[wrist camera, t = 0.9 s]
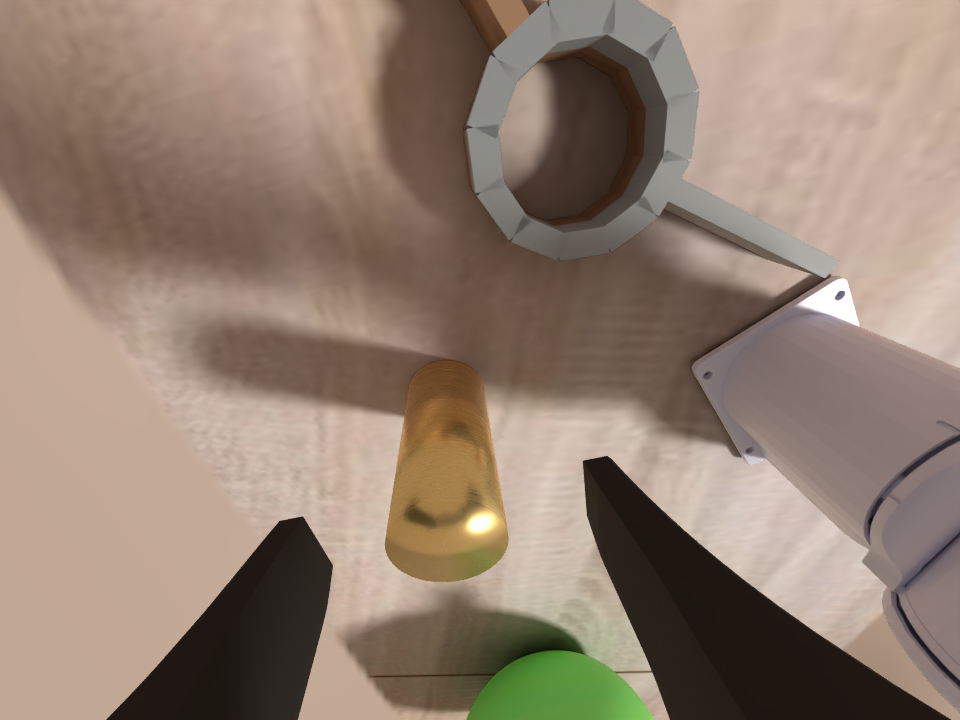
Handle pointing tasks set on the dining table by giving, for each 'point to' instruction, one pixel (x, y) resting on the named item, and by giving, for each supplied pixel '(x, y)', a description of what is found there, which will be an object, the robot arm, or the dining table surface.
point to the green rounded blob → (557, 691)
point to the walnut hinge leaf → (502, 11)
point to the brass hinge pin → (446, 480)
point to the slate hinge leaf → (667, 143)
